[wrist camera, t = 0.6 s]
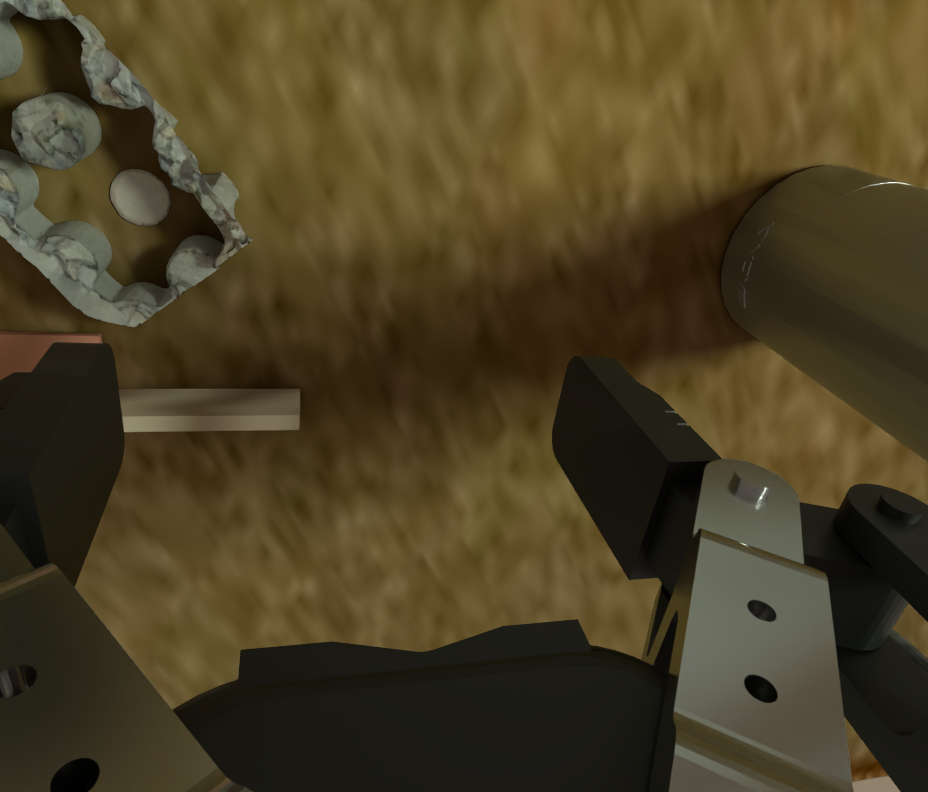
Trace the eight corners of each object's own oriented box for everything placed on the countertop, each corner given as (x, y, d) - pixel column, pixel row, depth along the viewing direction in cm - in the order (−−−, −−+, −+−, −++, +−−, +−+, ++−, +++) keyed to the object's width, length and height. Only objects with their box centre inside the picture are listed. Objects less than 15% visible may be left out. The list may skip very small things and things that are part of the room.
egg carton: (270, 220, 28) (265, 249, 24) (135, 315, 29) (111, 356, 25) (67, -35, 22) (22, -44, 19) (-95, 92, 23) (-165, 106, 20)
